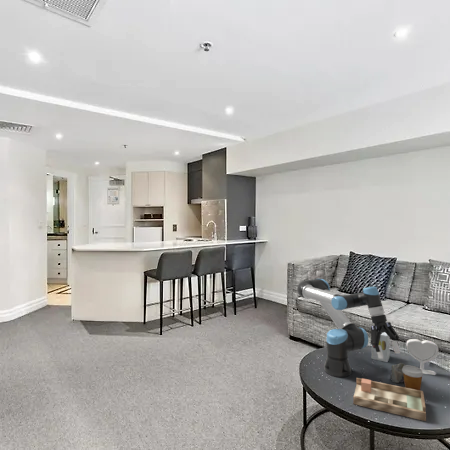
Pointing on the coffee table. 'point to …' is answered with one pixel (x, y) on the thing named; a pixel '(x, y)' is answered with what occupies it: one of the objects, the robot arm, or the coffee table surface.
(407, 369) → the disposable coffee cup
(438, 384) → the coffee table surface
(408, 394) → the box
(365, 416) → the coffee table surface
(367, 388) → the terracotta block
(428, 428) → the coffee table surface
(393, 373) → the mineral rock
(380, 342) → the supplement box
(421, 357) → the heart sculpture
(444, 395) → the coffee table surface
